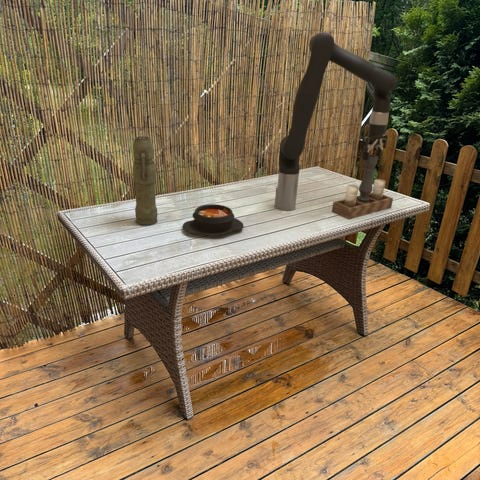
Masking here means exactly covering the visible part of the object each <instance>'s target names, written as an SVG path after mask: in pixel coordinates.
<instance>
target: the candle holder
mask: <svg viewBox="0 0 480 480" xmlns="http://www.w3.org/2000/svg"><path fill="white" fill-rule="evenodd" d="M378 161H379V158H378V156H376V154H370V153H369V156H368V160H367V161H366V160H364V161H363V164H364V166H365V167H363V168H362V169H363V177H362V180H361V182H360V185H359V186H358V191H359V195H357V196H358V199H357V201H359V202H361V203H363V204H367V203H370V201H369V200H370V198H369V195H370V193H372V192H373V175H374V172H375V171H376V169H375V167H376V166H377V164H378Z"/></svg>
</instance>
